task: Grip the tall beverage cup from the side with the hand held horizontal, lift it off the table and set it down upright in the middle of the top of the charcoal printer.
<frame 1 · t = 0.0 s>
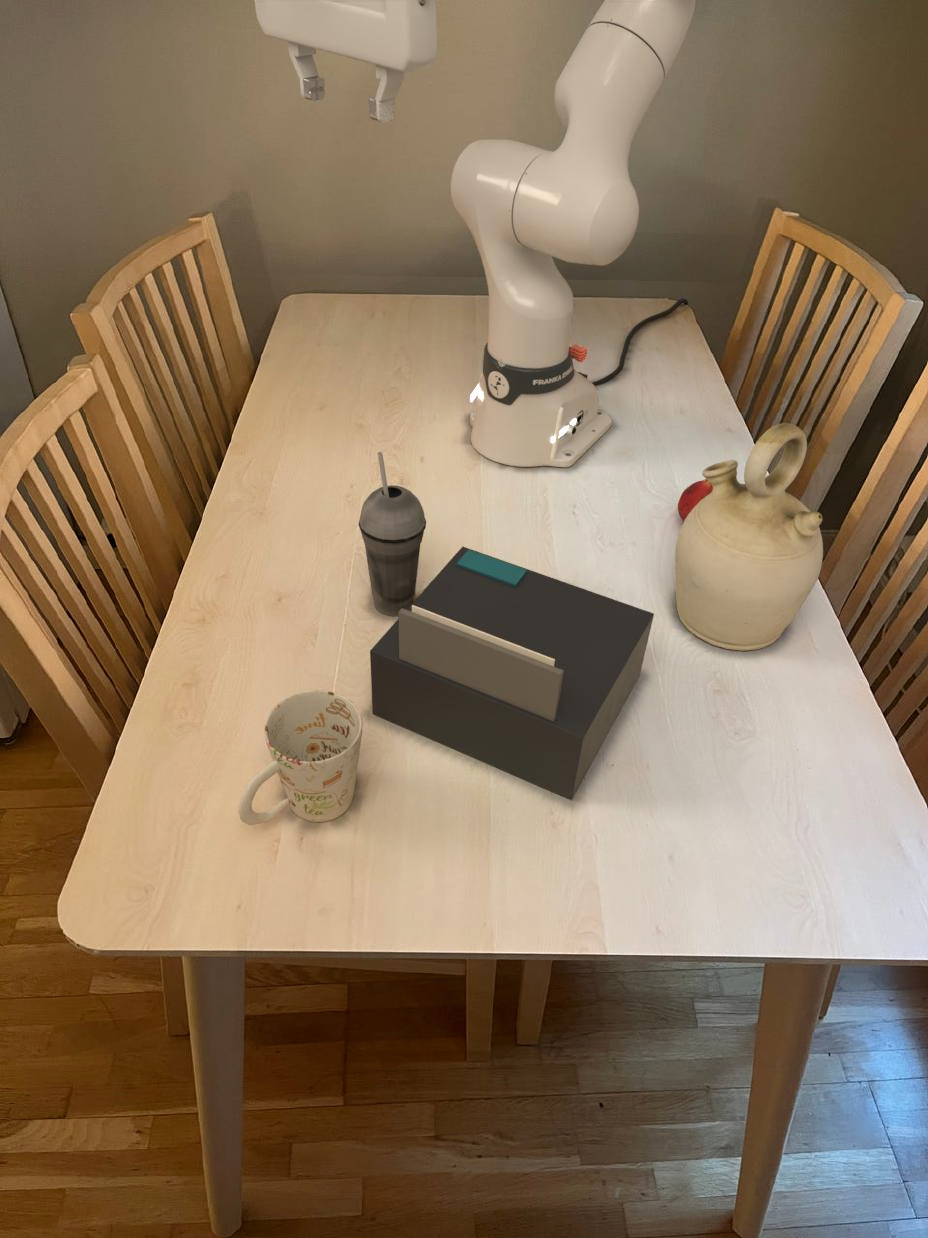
hand: (346, 109, 85), 48 cm above the table, tool pointing down, fingers open, 8 cm apart
jug: (728, 617, 108), on the table
mug: (303, 811, 85), on the table
red pomegranate: (695, 530, 120), on the table
beverage cup: (393, 604, 107), on the table
printer: (509, 694, 97), on the table
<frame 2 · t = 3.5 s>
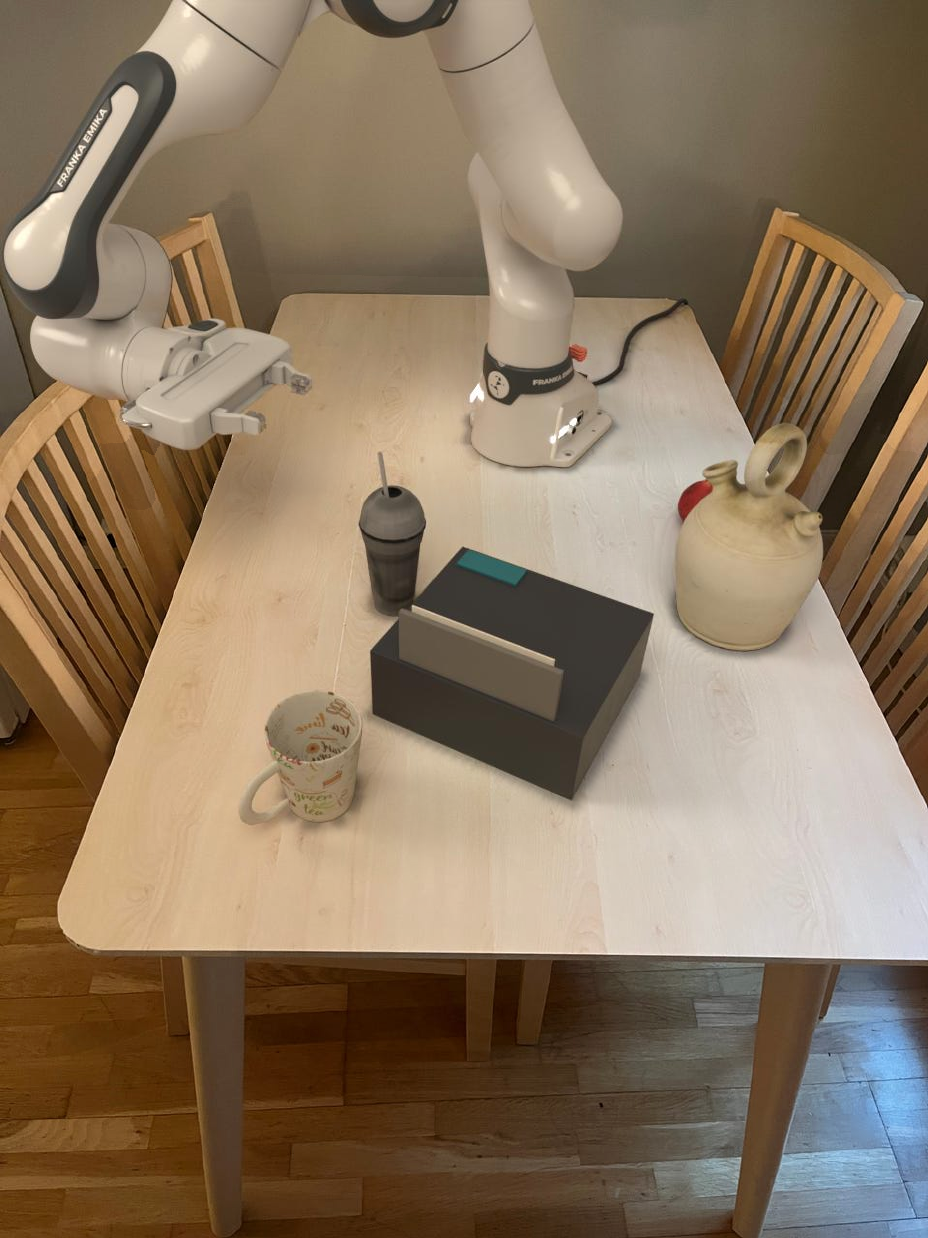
hand: (286, 405, 95), 23 cm above the table, tool horizontal, fingers open, 8 cm apart
nothing on the table moved.
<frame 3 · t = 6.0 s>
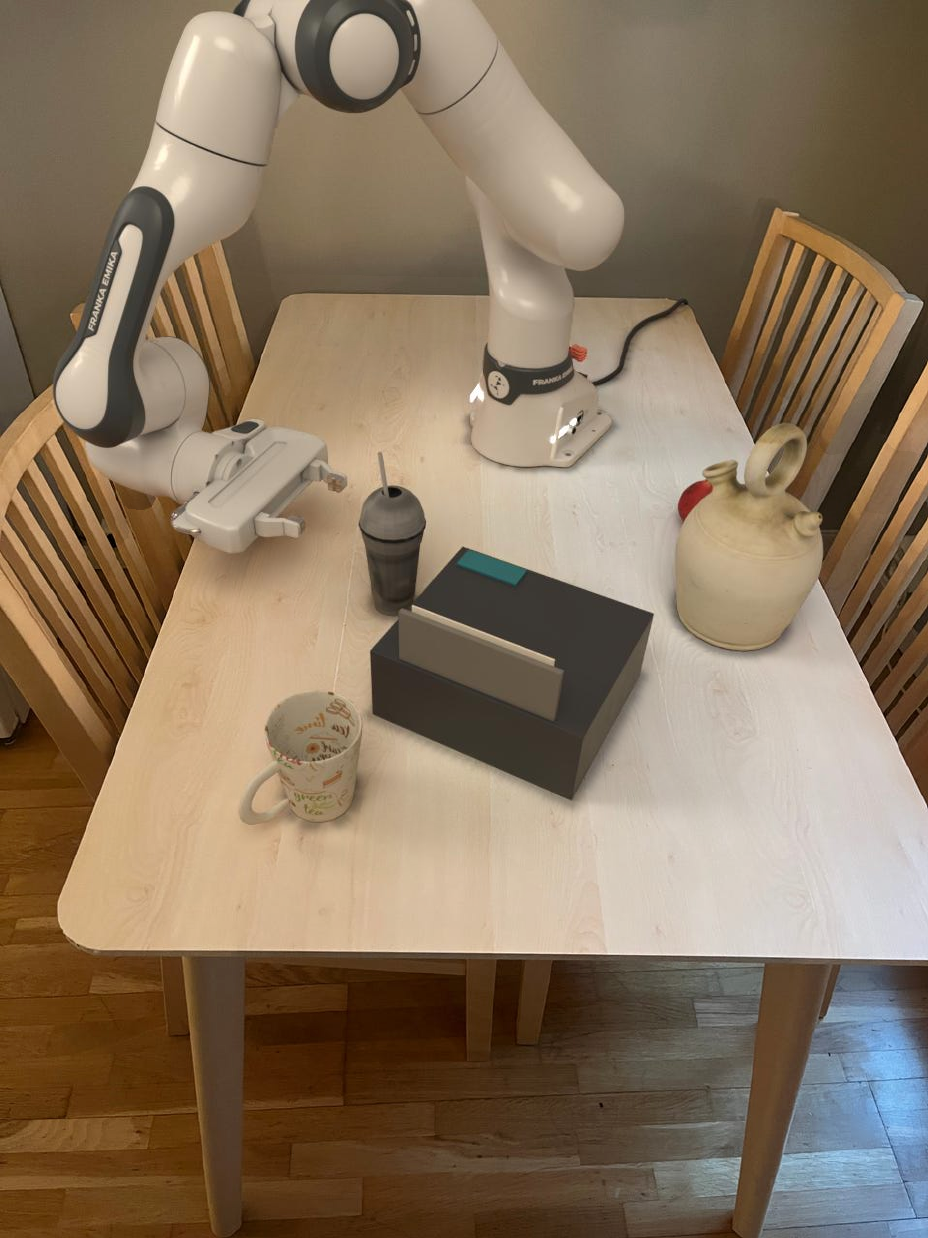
hand: (323, 505, 102), 11 cm above the table, tool horizontal, fingers open, 8 cm apart
nothing on the table moved.
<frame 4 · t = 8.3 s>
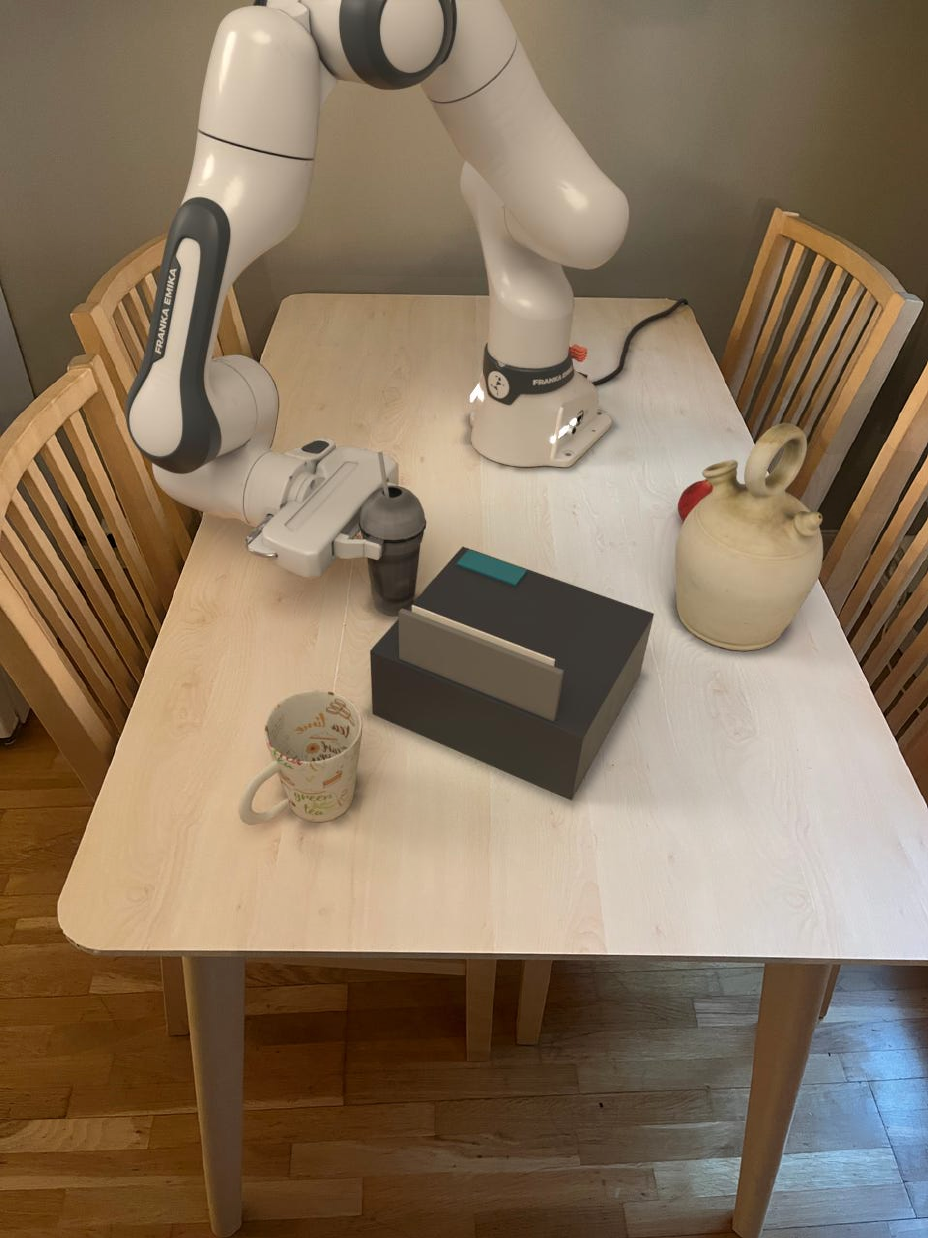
hand: (400, 528, 99), 11 cm above the table, tool horizontal, fingers closed on beverage cup, 7 cm apart
beverage cup: (393, 604, 107), on the table, touching gripper
everything else where it was.
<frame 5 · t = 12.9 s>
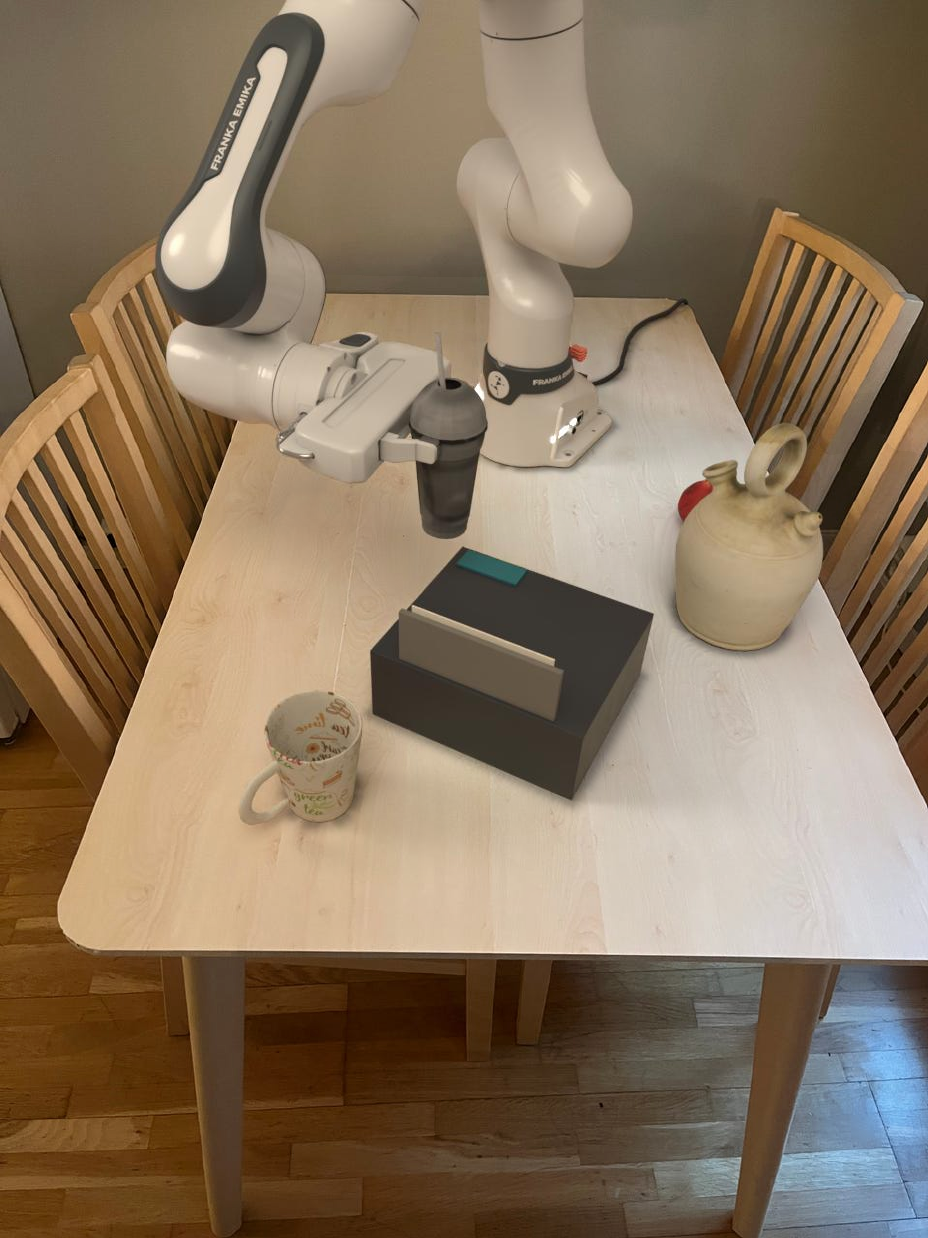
hand: (457, 430, 84), 27 cm above the table, tool horizontal, fingers closed on beverage cup, 7 cm apart
beverage cup: (444, 527, 92), point 16 cm above the table, touching gripper
everything else where it was.
when the fingers open (20 cm above the table, at t = 17.3 s): beverage cup stays where it is, resting on printer.
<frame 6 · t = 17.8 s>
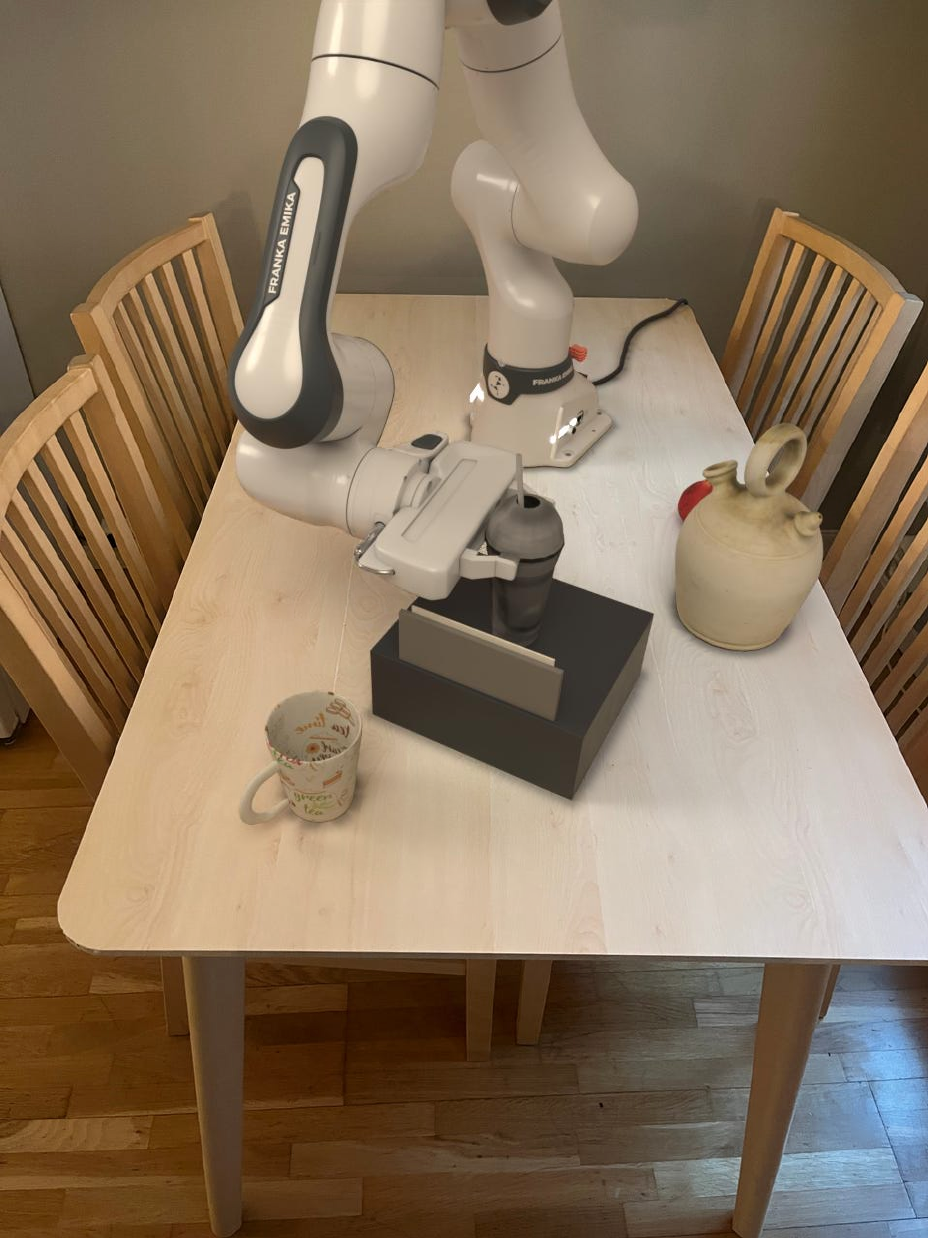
hand: (535, 539, 83), 21 cm above the table, tool horizontal, fingers open, 8 cm apart
beverage cup: (514, 633, 91), point 9 cm above the table, touching printer
everything else where it was.
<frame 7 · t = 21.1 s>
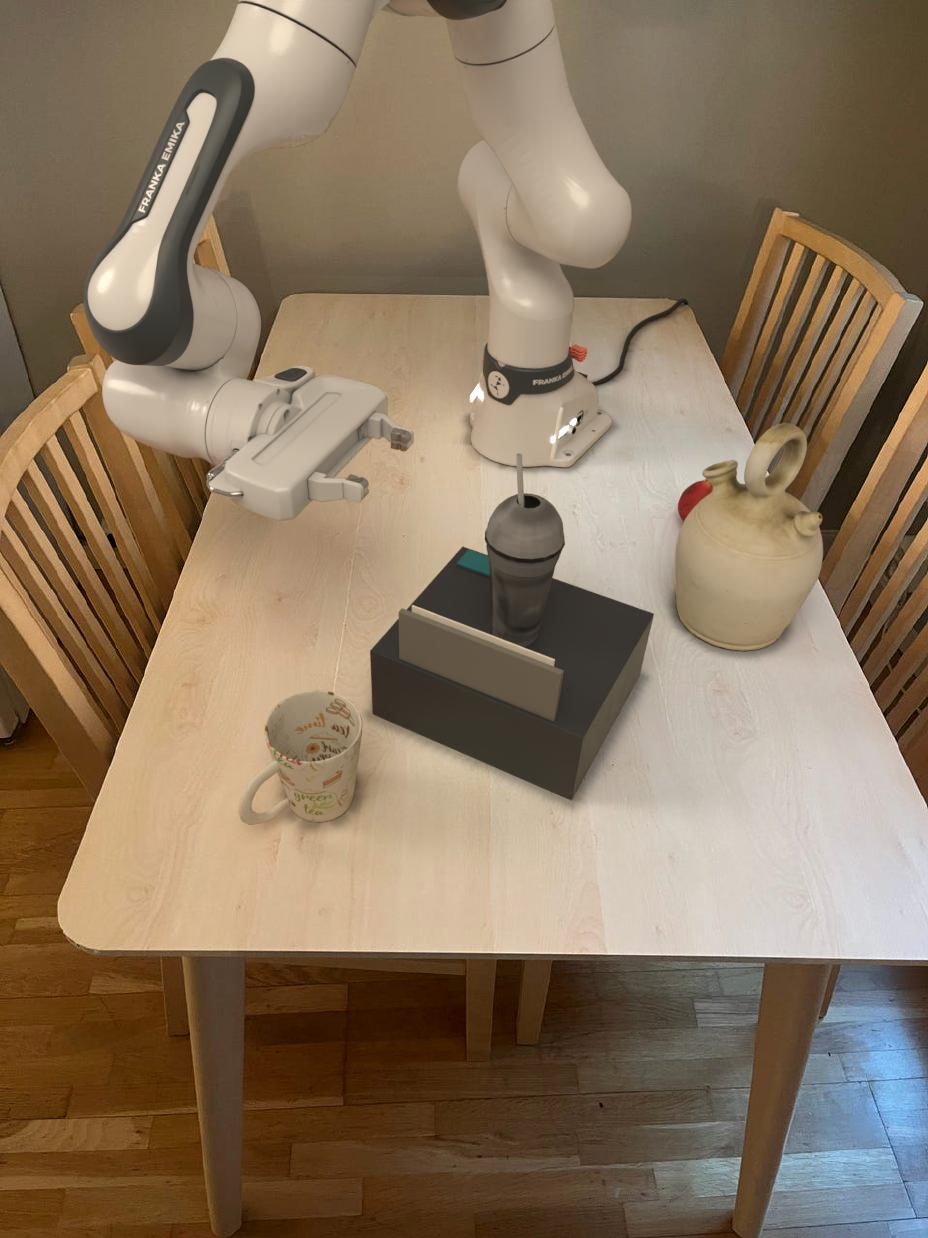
hand: (388, 465, 85), 24 cm above the table, tool horizontal, fingers open, 8 cm apart
nothing on the table moved.
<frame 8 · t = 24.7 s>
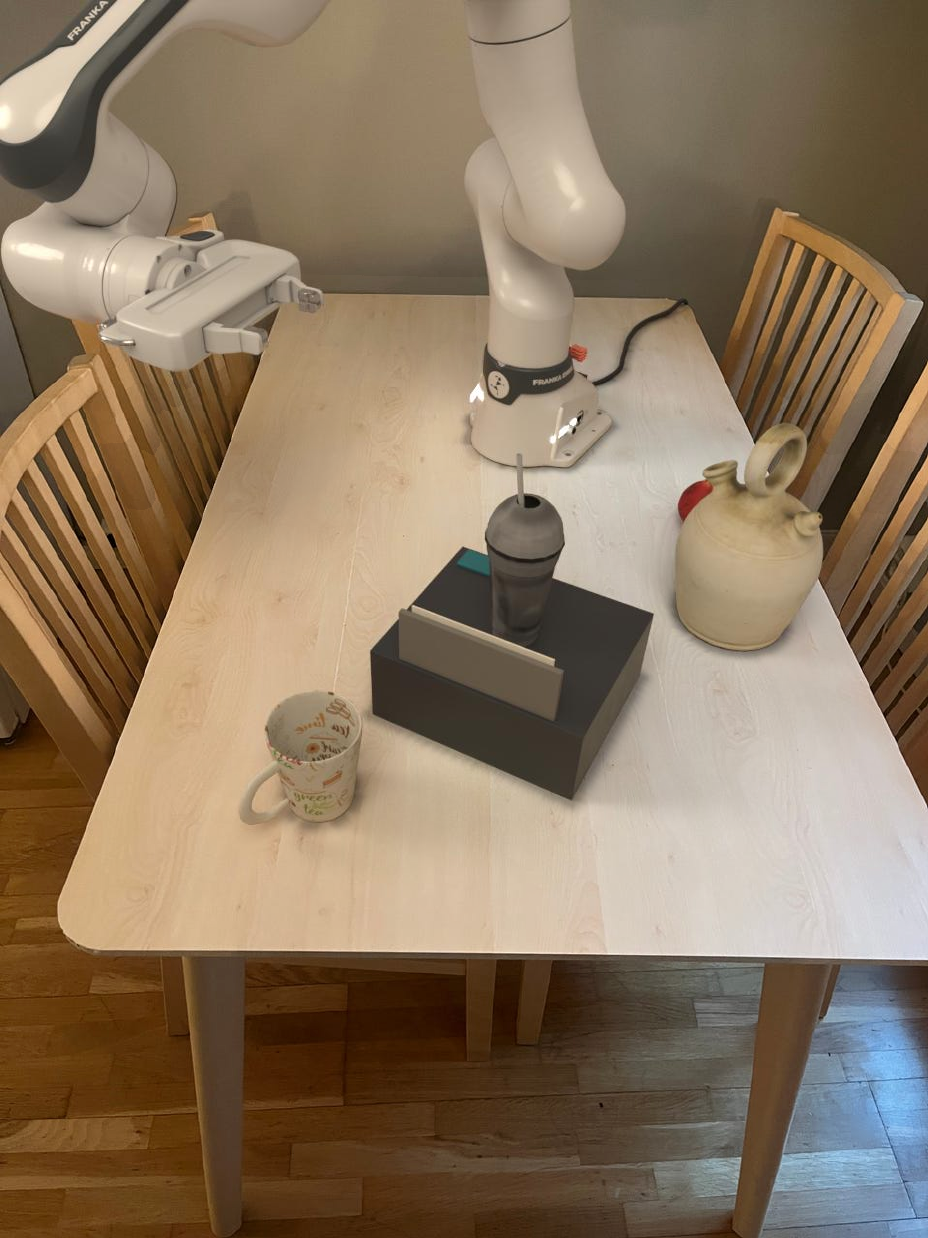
hand: (293, 321, 81), 35 cm above the table, tool horizontal, fingers open, 8 cm apart
nothing on the table moved.
at the end: beverage cup inside the target area on the printer (0.1 cm from its centre), point 8.8 cm above the printer's base; beverage cup tilted 0°; the gripper is holding nothing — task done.
